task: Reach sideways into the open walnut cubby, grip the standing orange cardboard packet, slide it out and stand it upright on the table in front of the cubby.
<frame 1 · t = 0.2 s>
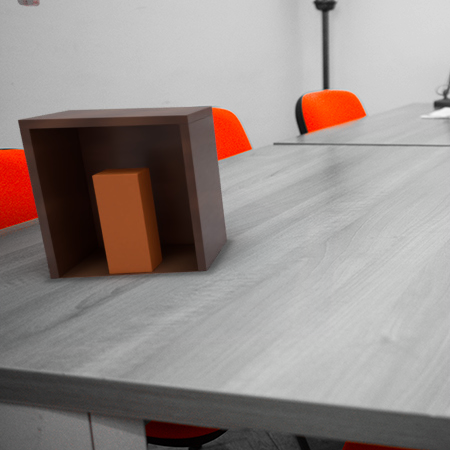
hand: (6, 2, 63), 32 cm above the table, tool pointing down, fingers open, 8 cm apart
packet: (136, 267, 70), point 1 cm above the table, touching cubby
cubby: (148, 268, 74), on the table
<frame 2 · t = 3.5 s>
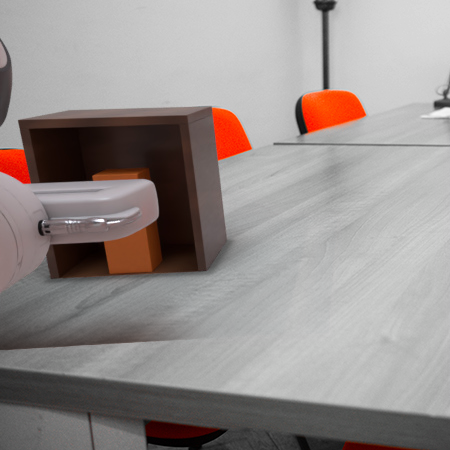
hand: (66, 190, 54), 14 cm above the table, tool horizontal, fingers open, 8 cm apart
nothing on the table moved.
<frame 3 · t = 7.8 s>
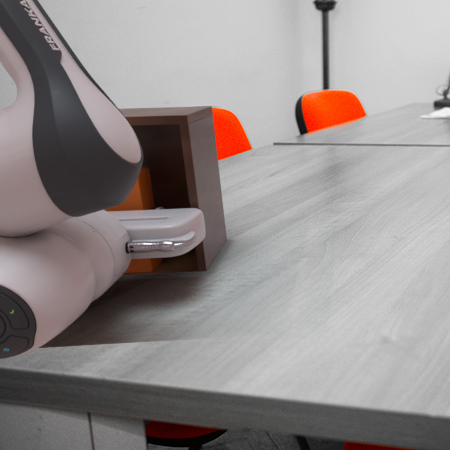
hand: (131, 214, 69), 8 cm above the table, tool horizontal, fingers closed on packet, 5 cm apart
packet: (137, 267, 70), point 1 cm above the table, touching cubby, gripper
everything else where it was.
when the fingers open (6 cm above the table, at t = 14.2 s): packet stays where it is, on the table.
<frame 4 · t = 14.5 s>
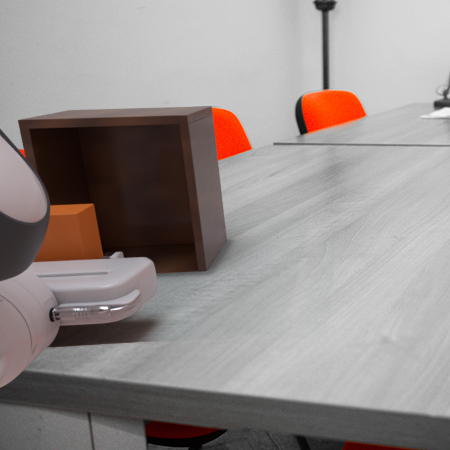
hand: (73, 260, 59), 6 cm above the table, tool horizontal, fingers open, 7 cm apart
packet: (81, 320, 60), on the table
everything else where it was.
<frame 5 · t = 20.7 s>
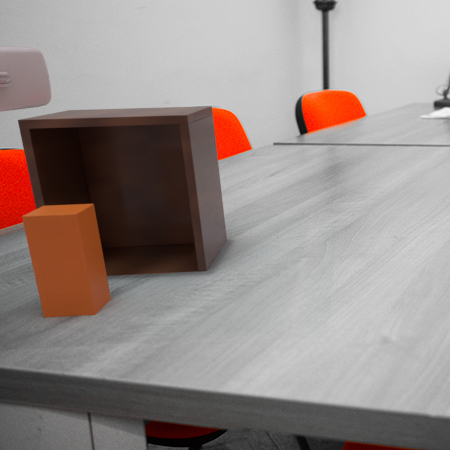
nothing on the table moved.
at the end: packet inside the target area (0.4 cm from its centre), on the table; packet tilted 0°; the gripper is holding nothing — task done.
